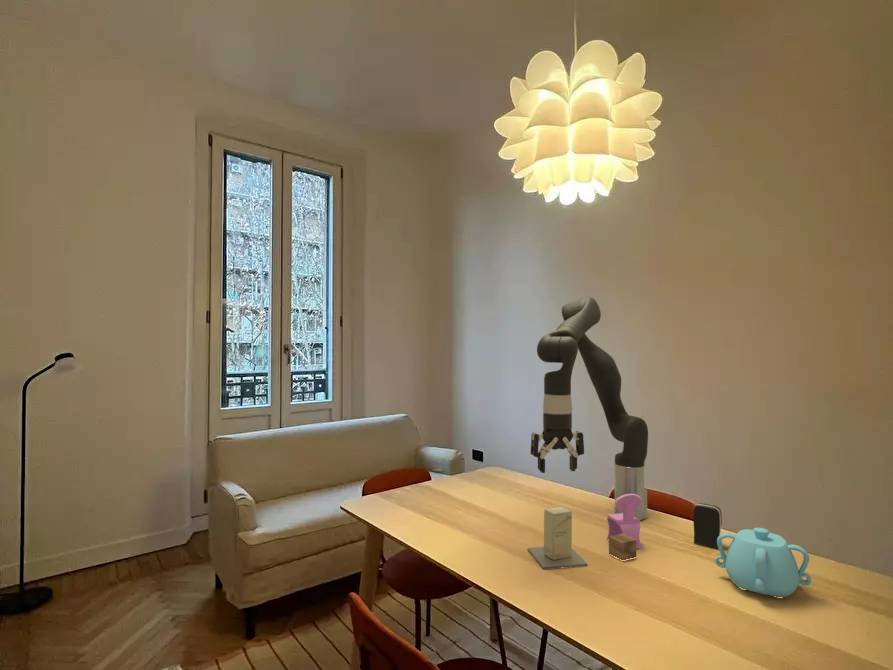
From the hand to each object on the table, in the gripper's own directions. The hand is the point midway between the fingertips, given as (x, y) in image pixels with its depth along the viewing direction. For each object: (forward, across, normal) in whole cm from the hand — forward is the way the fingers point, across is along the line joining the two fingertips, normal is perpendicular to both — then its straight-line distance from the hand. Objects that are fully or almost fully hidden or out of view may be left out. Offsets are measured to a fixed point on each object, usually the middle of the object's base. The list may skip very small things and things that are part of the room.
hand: (557, 471), depth 138 cm
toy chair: (+23, -23, -6) cm, 33 cm away
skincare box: (+23, 0, 0) cm, 23 cm away
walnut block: (+23, -18, +2) cm, 29 cm away
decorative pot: (+24, -42, +23) cm, 53 cm away
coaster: (+23, 0, 0) cm, 23 cm away
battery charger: (+23, -46, -1) cm, 51 cm away
